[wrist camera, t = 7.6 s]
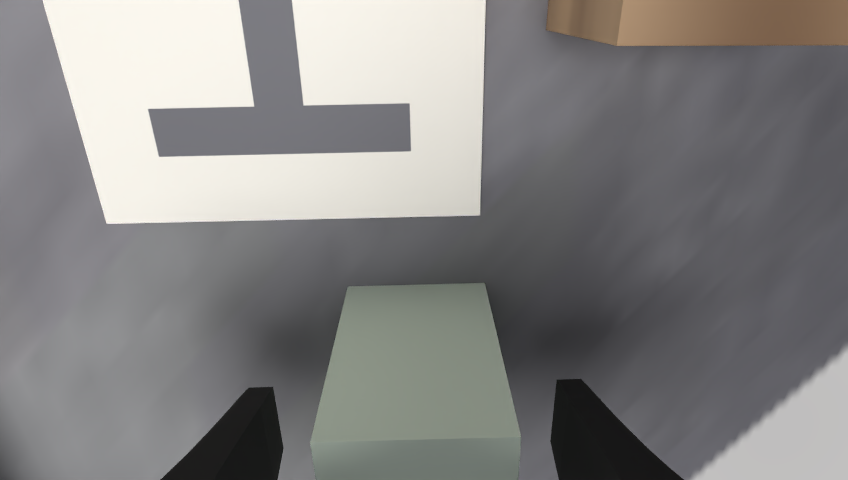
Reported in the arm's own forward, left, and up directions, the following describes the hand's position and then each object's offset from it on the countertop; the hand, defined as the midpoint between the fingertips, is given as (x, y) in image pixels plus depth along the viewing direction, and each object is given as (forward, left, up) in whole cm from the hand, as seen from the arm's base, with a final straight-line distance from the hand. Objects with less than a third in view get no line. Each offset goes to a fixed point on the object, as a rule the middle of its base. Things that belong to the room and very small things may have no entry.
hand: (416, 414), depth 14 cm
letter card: (-3, -9, -3) cm, 10 cm away
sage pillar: (0, 0, -3) cm, 3 cm away
